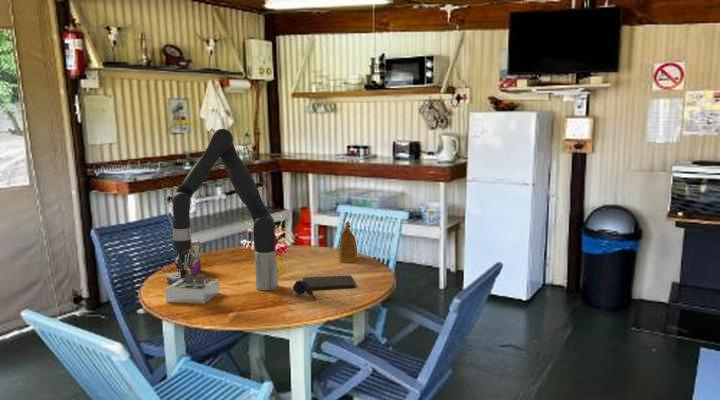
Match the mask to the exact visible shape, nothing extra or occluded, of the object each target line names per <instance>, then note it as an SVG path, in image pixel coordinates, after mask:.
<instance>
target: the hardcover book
mask: <svg viewBox="0 0 720 400" xmlns="http://www.w3.org/2000/svg"><path fill="white" fill-rule="evenodd" d="M302 281H306V282H307V284H308V285H309V287H310V288H311V290H312V291H324V290H325V291H326V290H327V291H328V290H343V289H346V290H347V289H355V287H356V284H355V281H354V280H353V277H352V275H329V276H304V277H302Z"/></svg>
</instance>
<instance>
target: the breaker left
mask: <svg viewBox="0 0 720 400" xmlns="http://www.w3.org/2000/svg"><path fill="white" fill-rule="evenodd" d="M195 279H196V284H195V286H201V287H202V286H204V285H205V284H206V282H204V279H205V274H203V273H202V274H201V273H197V274H196V275H195Z"/></svg>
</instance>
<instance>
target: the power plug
mask: <svg viewBox="0 0 720 400" xmlns="http://www.w3.org/2000/svg"><path fill="white" fill-rule="evenodd" d="M292 289H293V295H296V294H297V295H304V294H305V293H306V294H308V295H309V296H310V297H312V298H313V300H315V301H316V300H317V298H316V297H315V296H314V291H313V290H311V288H310V287H309V285H308V284H307V282H306V281H303V279H302V280H301V279H300V280H296V281H295V283H294V284H293V286H292Z"/></svg>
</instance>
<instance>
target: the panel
mask: <svg viewBox="0 0 720 400" xmlns="http://www.w3.org/2000/svg"><path fill="white" fill-rule="evenodd" d="M193 282H195V284H196V278H193ZM204 282H206V284H205V285H204V286H202V287H201V286H195V284H193V285H192V286H184V283H185V280H182V279H180V280H178V281H177V282H175V283H173V284H170V285H169V286H167V287H165V288H164V290H165V291H164V292H165V302H166V303H178V304H179V303H181V304H182V303H184V304H203V305H204V304H206V303H207V302H208V301H210V300H211V299H212V298H214V297H215V296H216V295H218V294H219V293H220V287H219V285H220V284H219V279H216V278H215V279H213V278H211V279H210V278H204Z"/></svg>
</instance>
